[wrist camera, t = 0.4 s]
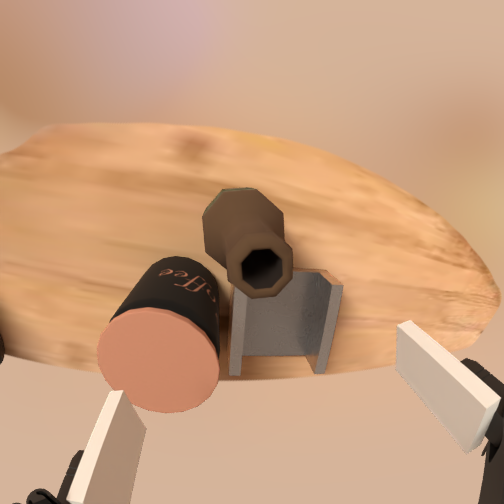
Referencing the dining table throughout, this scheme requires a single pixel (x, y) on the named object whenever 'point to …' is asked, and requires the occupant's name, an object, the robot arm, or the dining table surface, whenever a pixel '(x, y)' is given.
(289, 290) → the bracket
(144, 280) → the coffee jar
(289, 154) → the dining table surface
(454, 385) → the robot arm
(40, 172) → the dining table surface
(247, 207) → the beer bottle
